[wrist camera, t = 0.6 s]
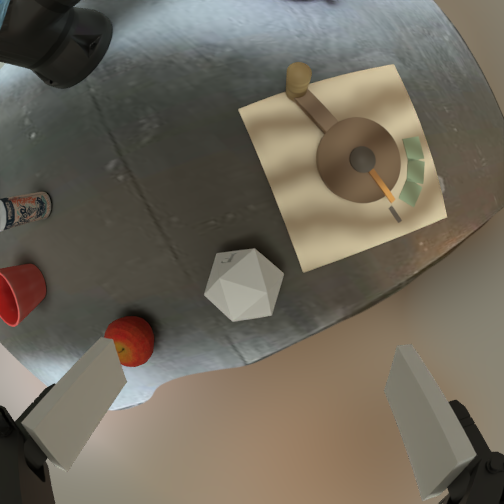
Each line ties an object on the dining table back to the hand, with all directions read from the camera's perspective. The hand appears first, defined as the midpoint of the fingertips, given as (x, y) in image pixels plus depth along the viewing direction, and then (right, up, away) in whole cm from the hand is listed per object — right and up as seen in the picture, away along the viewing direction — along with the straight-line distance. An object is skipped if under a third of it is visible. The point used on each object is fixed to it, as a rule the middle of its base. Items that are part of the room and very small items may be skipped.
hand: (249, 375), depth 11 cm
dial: (+11, +19, +19) cm, 29 cm away
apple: (-18, -7, +31) cm, 36 cm away
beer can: (-36, +14, +27) cm, 47 cm away
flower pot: (-43, 0, +31) cm, 53 cm away
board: (+13, +17, +21) cm, 30 cm away
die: (0, +3, +26) cm, 26 cm away
